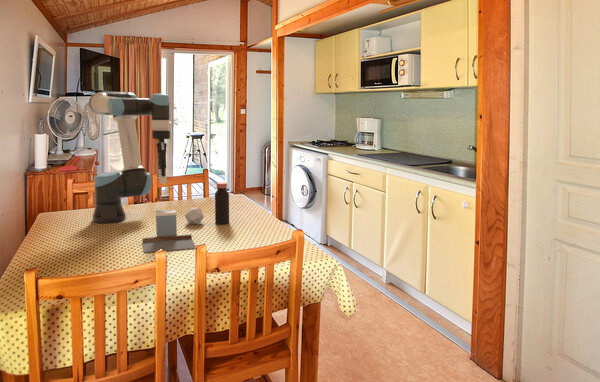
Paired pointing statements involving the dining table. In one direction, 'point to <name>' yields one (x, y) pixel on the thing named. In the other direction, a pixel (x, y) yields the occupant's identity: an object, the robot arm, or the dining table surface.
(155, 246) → the mat
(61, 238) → the dining table surface
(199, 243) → the dining table surface
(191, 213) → the grey faceted rock
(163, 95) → the robot arm
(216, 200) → the bottle
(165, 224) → the tall block
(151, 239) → the rail
